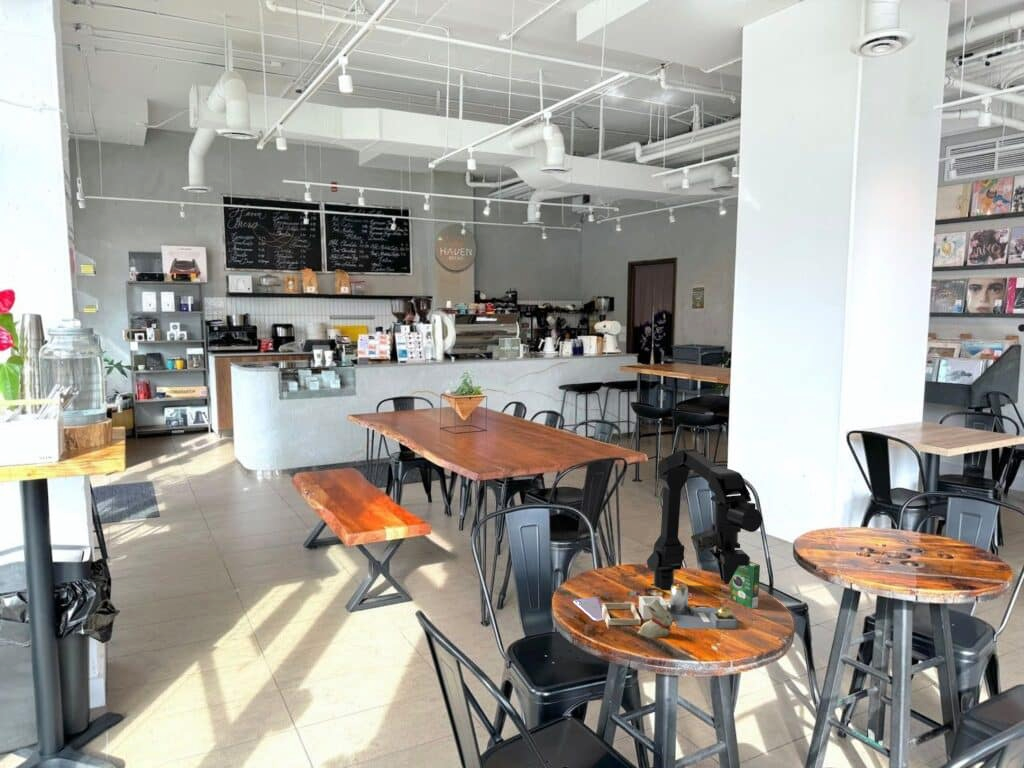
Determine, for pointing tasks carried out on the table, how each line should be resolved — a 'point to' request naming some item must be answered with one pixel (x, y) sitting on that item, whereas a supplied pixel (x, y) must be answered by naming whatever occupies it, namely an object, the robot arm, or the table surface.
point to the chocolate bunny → (657, 621)
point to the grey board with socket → (703, 619)
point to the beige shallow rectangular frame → (620, 621)
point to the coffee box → (746, 585)
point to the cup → (647, 600)
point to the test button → (724, 613)
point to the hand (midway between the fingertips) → (724, 582)
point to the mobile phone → (591, 607)
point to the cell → (679, 599)
